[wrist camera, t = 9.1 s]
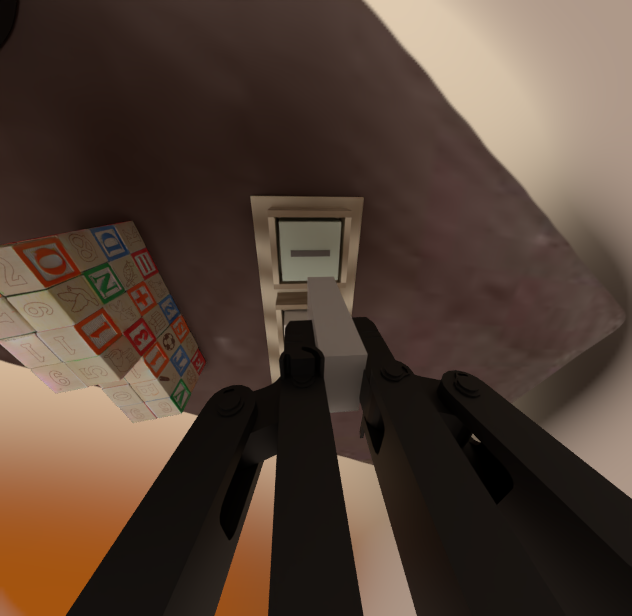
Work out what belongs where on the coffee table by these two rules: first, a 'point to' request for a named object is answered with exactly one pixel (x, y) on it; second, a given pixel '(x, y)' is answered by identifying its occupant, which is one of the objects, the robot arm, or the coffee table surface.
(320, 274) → the light grey block
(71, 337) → the stack of blocks
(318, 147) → the coffee table surface
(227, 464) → the robot arm
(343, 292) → the button board
